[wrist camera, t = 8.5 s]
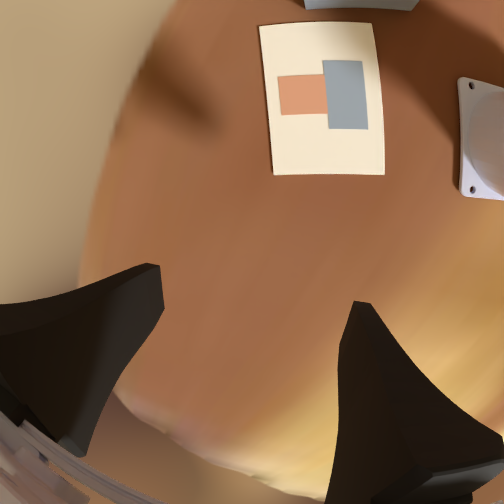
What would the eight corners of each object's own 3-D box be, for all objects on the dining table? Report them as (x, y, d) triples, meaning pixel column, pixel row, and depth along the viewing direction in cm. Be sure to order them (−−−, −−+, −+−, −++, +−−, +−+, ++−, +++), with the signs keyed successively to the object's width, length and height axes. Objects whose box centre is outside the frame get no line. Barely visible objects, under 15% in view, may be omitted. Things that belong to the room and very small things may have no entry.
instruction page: (371, 24, 12) (371, 22, 12) (383, 174, 16) (384, 175, 16) (259, 27, 14) (258, 26, 14) (274, 174, 18) (273, 175, 18)
